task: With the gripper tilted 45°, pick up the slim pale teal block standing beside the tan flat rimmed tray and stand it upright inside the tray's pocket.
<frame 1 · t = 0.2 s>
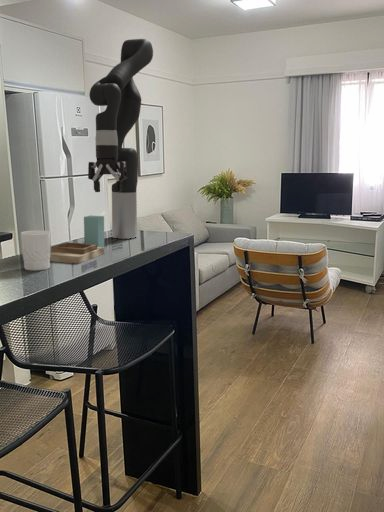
hand: (107, 192, 176), 18 cm above the countertop, tool pointing down, fingers open, 8 cm apart
pale teal block: (94, 249, 169), on the countertop
tan flat rimmed tray: (74, 256, 156), on the countertop
white cup: (37, 268, 141), on the countertop
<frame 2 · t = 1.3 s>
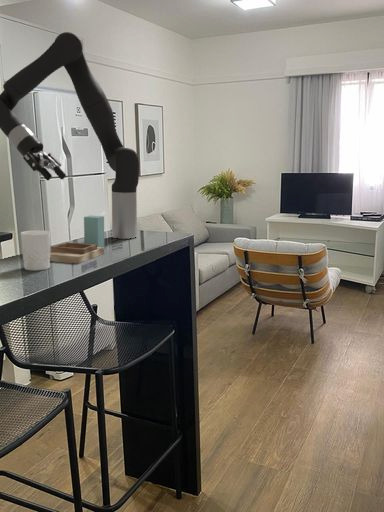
hand: (57, 178, 168), 23 cm above the countertop, tool tilted 45°, fingers open, 8 cm apart
nothing on the countertop moved.
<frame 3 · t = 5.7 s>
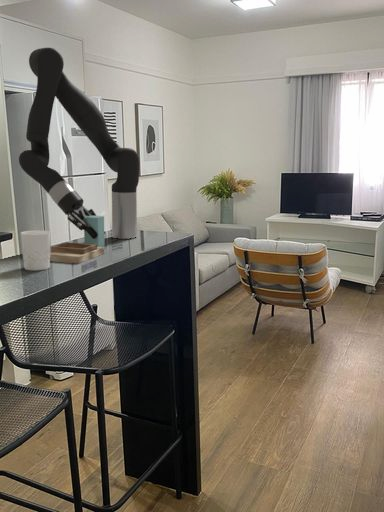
hand: (99, 235, 167), 5 cm above the countertop, tool tilted 45°, fingers closed on pale teal block, 4 cm apart
pale teal block: (94, 249, 169), on the countertop, touching gripper
everything else where it was.
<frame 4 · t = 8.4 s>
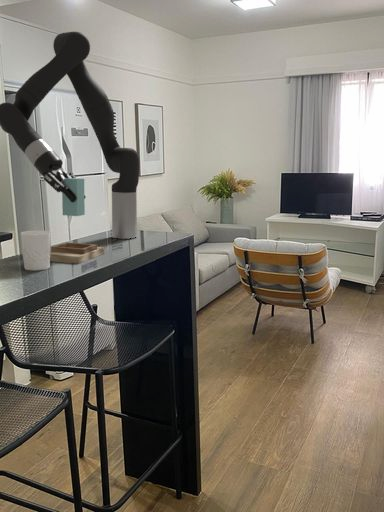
hand: (79, 199, 154), 18 cm above the countertop, tool tilted 45°, fingers closed on pale teal block, 4 cm apart
pale teal block: (73, 214, 155), point 13 cm above the countertop, touching gripper
everything else where it was.
when the fingers open (8 cm above the countertop, at t = 11.1 s): pale teal block drops 1 cm, resting on tan flat rimmed tray.
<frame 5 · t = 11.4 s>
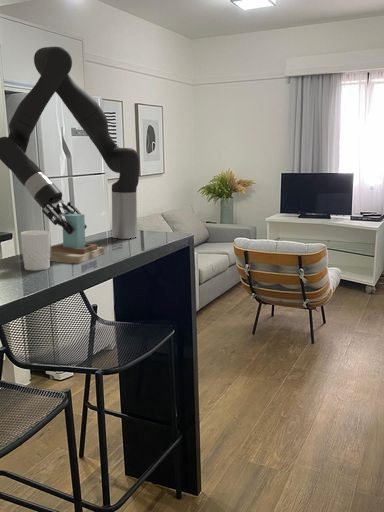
hand: (78, 230, 154), 8 cm above the countertop, tool tilted 45°, fingers open, 7 cm apart
pale teal block: (74, 250, 156), point 2 cm above the countertop, touching tan flat rimmed tray
everything else where it was.
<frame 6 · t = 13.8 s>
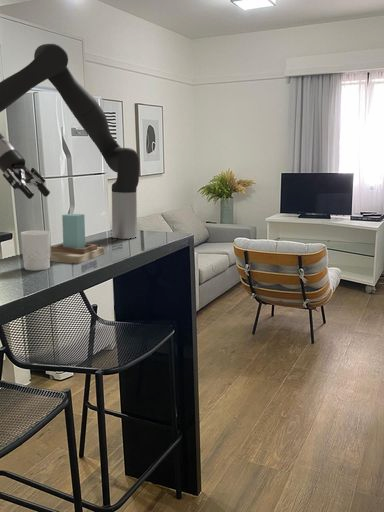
hand: (40, 195, 156), 18 cm above the countertop, tool tilted 45°, fingers open, 8 cm apart
nothing on the countertop moved.
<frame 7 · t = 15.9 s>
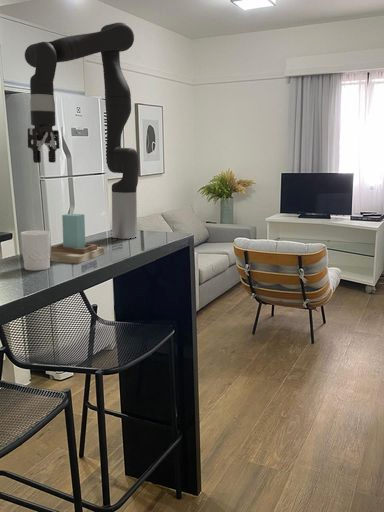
hand: (44, 162, 164), 28 cm above the countertop, tool pointing down, fingers open, 8 cm apart
nothing on the countertop moved.
at the end: pale teal block 0.1 cm off-centre on the tan flat rimmed tray, point 2.0 cm above the tan flat rimmed tray's base; pale teal block tilted 0°; the gripper is holding nothing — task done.
